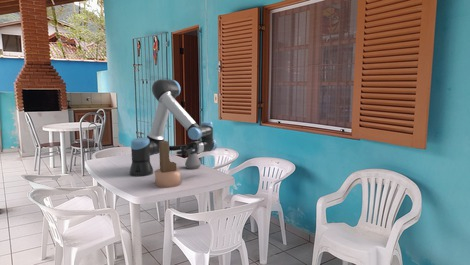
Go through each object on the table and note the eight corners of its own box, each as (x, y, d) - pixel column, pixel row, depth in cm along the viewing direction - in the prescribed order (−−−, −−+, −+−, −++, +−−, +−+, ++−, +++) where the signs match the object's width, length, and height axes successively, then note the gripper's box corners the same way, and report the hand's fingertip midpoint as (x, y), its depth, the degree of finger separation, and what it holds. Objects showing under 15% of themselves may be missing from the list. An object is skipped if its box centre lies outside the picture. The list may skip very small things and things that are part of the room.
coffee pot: (203, 168, 241) (203, 147, 239) (188, 170, 235) (188, 149, 233) (192, 162, 259) (191, 143, 257) (177, 164, 254) (177, 144, 252)
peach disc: (150, 183, 204) (150, 170, 203) (172, 178, 214) (171, 166, 213) (163, 189, 193) (163, 175, 192) (185, 184, 203) (185, 171, 202)
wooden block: (173, 169, 206) (173, 139, 204) (176, 170, 202) (176, 140, 200) (159, 171, 201) (158, 141, 199) (162, 172, 198) (161, 142, 195)
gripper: (207, 156, 205) (176, 161, 191) (184, 150, 223) (155, 155, 209) (206, 144, 204) (176, 148, 190) (183, 139, 222) (154, 143, 208)
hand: (165, 151), depth 200 cm, fingers open, 13 cm apart
